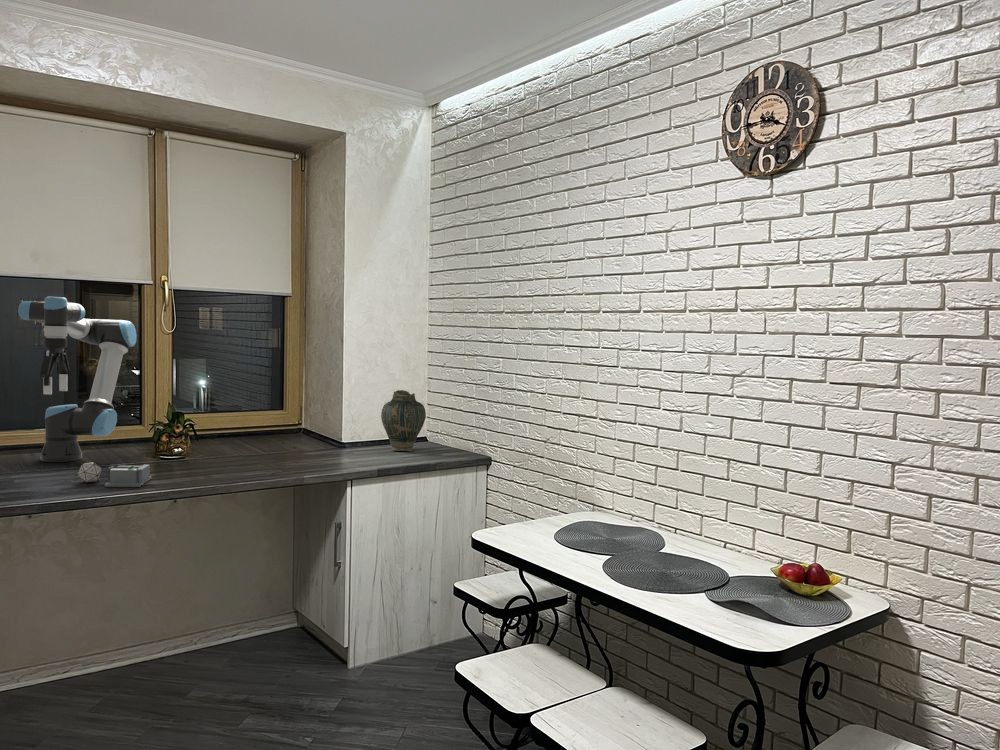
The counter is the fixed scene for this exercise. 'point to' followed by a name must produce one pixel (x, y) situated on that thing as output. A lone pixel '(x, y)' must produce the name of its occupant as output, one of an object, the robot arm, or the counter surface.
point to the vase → (403, 420)
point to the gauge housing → (129, 476)
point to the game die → (89, 472)
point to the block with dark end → (115, 468)
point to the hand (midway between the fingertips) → (55, 392)
